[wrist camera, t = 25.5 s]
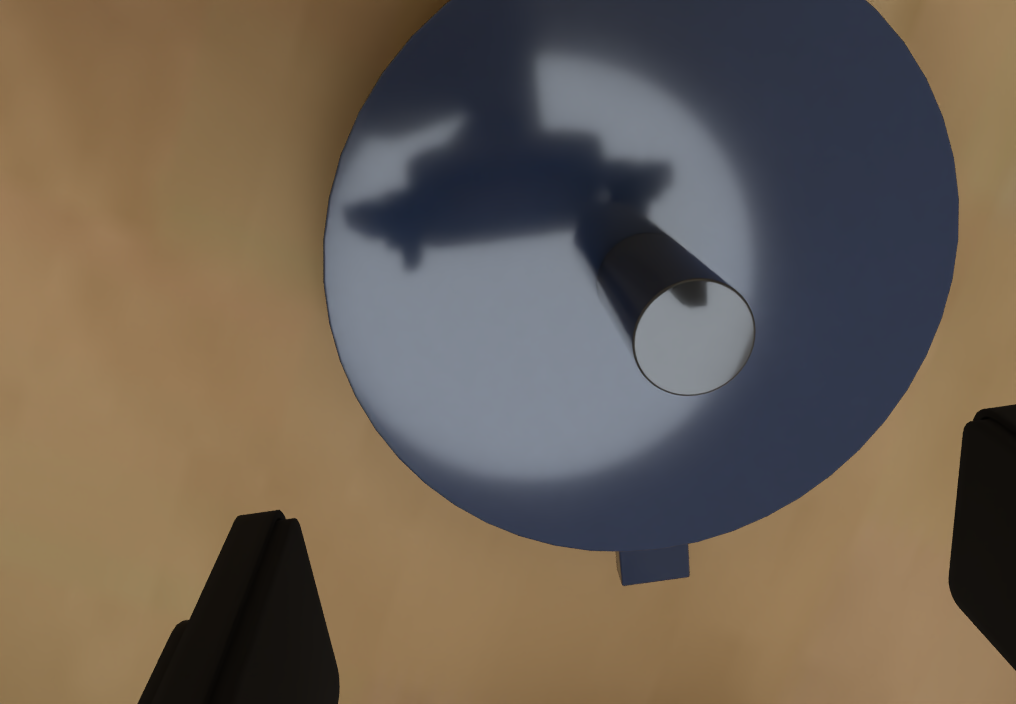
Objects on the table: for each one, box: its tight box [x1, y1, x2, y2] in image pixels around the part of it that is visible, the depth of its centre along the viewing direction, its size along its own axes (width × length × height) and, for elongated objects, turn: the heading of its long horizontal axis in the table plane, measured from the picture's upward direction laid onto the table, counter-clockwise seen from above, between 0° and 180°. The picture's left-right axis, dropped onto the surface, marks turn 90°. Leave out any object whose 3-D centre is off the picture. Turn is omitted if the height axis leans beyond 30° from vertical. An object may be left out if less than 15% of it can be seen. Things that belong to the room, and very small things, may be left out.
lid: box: [323, 0, 959, 552], centre depth 21 cm, size 18×18×6 cm
